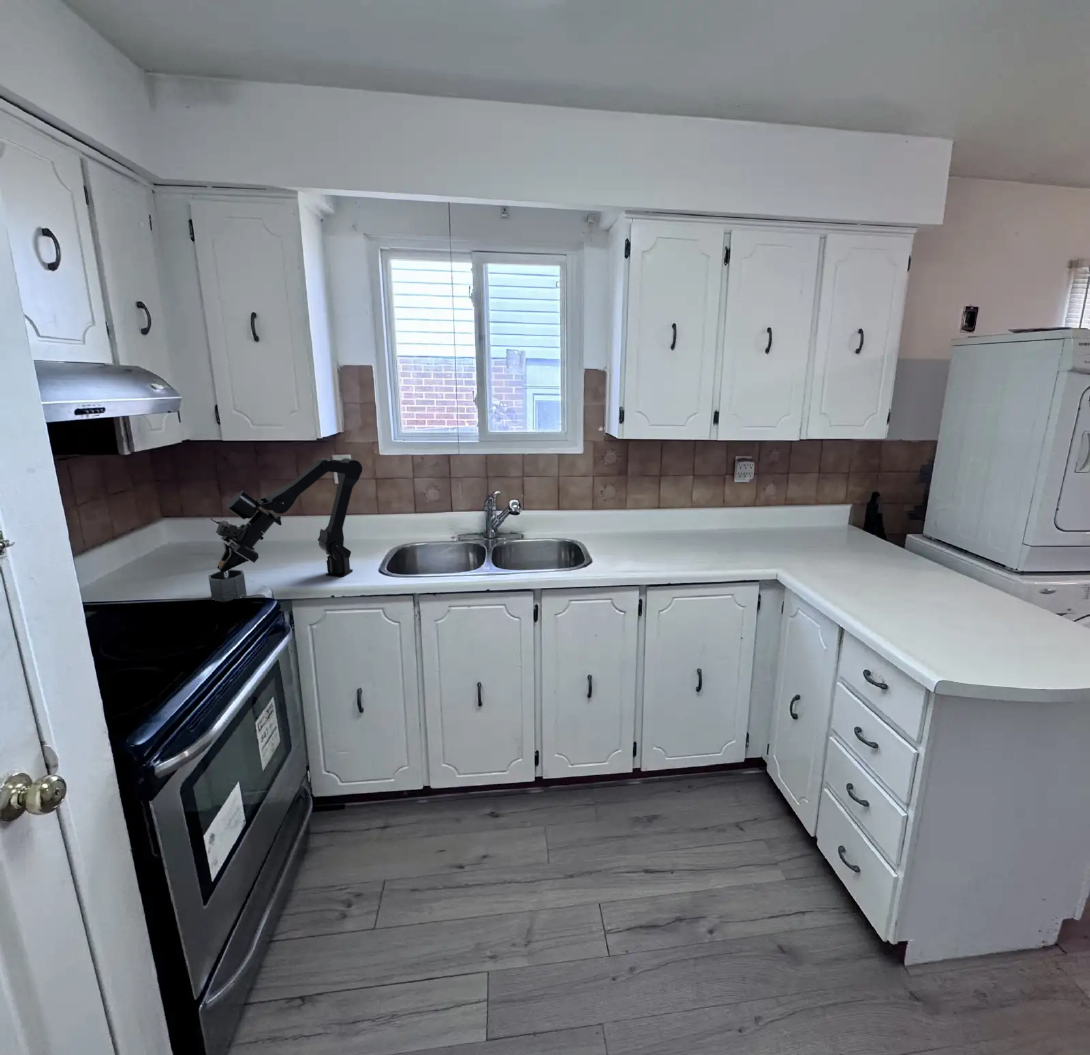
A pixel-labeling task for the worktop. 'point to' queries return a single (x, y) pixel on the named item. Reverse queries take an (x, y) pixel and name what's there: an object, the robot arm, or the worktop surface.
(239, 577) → the grey octagonal pot
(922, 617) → the worktop surface
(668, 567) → the worktop surface
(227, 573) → the plunger
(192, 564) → the worktop surface
